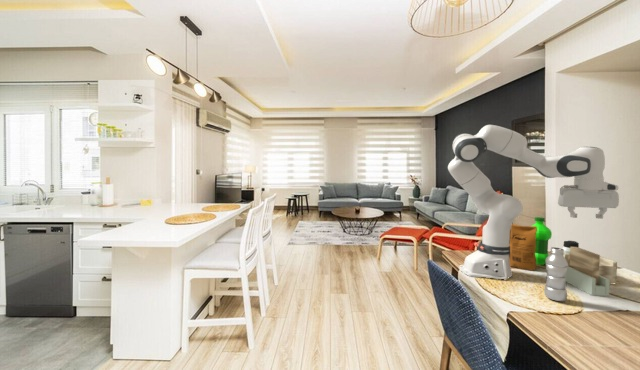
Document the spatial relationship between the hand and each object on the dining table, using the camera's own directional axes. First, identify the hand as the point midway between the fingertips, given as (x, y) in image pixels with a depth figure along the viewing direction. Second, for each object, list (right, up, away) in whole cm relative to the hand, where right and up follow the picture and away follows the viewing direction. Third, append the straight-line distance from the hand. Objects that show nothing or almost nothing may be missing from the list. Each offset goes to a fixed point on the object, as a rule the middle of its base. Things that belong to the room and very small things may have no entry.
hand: (586, 218), depth 113 cm
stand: (0, -30, +1) cm, 30 cm away
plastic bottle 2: (-22, -31, -10) cm, 39 cm away
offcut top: (+12, -24, +17) cm, 32 cm away
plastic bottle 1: (+5, -29, +31) cm, 43 cm away
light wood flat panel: (0, -29, +1) cm, 29 cm away
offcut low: (+12, -29, +18) cm, 36 cm away
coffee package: (-8, -29, +26) cm, 40 cm away
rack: (+13, -29, +13) cm, 35 cm away
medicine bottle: (+23, -29, +32) cm, 49 cm away
